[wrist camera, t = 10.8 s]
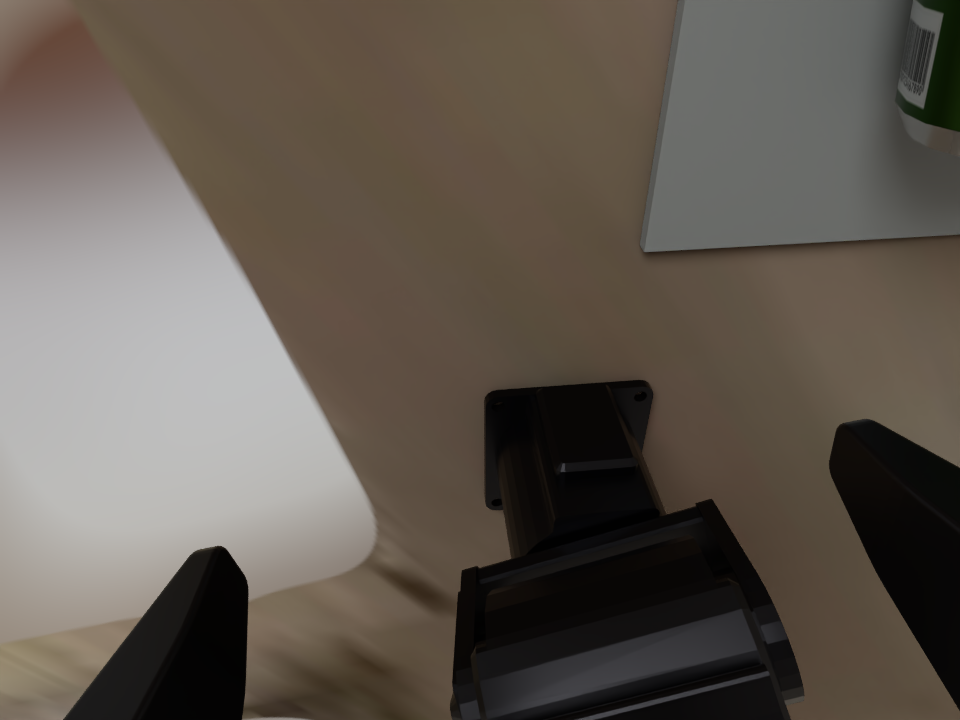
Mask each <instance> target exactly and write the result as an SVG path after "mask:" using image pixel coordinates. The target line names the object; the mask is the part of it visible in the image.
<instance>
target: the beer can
mask: <svg viewBox="0 0 960 720" xmlns="http://www.w3.org/2000/svg"><path fill="white" fill-rule="evenodd" d="M895 103H896V106H897V109H898V112H899V116H900V119H901V122H902V125H903V128H904V129H905V130H906V132H907V133H908V134H909V136H910V137H911V138H912V139H913V140H915V141H917V142H919V143H921V144H923V145H925V146H926V147H928V148H930V149H934V150H938V151H941V152H945V153H948V154H952V155H956V156H960V0H913V3H912V9H911V15H910V20H909V26H908V31H907V37H906V43H905V48H904V54H903V59H902V65H901V71H900V76H899V82H898V87H897V93H896V99H895Z"/></svg>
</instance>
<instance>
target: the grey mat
mask: <svg viewBox="0 0 960 720" xmlns="http://www.w3.org/2000/svg"><path fill="white" fill-rule="evenodd" d="M912 3H913V0H678V5H677V11H676V18H675V24H674V30H673V37H672V43H671V49H670V56H669V62H668V68H667V75H666V81H665V88H664V94H663V100H662V107H661V113H660V119H659V126H658V132H657V138H656V145H655V151H654V158H653V164H652V170H651V177H650V183H649V189H648V196H647V202H646V208H645V215H644V221H643V228H642V234H641V240H640V246H641V248H642V249H643V251H644V252H656V251H674V250H692V249H710V248H728V247H746V246H763V245H781V244H799V243H817V242H835V241H853V240H871V239H888V238H906V237H924V236H942V235H960V156H956V155H952V154H948V153H945V152H941V151H938V150H934V149H930V148H928V147H926V146H925V145H923V144H921V143H919V142H917V141H915V140H913V139H912V138H911V137H910V136H909V134H908V133H907V132H906V130H905V129H904V128H903V125H902V122H901V119H900V116H899V112H898V109H897V106H896V103H895V99H896V93H897V87H898V82H899V76H900V71H901V65H902V59H903V54H904V48H905V43H906V37H907V31H908V26H909V20H910V15H911V9H912Z"/></svg>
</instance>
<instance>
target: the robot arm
mask: <svg viewBox="0 0 960 720" xmlns="http://www.w3.org/2000/svg"><path fill="white" fill-rule="evenodd" d="M638 392H642V393H641V394H638V395H635V394H637V393H638ZM652 399H653V391H652V389H651V387H650V385H649V383H648V382H646V381H644V380H633V381H619V382H605V383H591V384H577V385H562V386H548V387H534V388H520V389H506V390H496V391H492V392H490V393H488V394H487V396H486V397H485V400H484V466H485V503H486V506H487V507H488V508H489V509H491V510H504V517H505V523H506V529H507V535H508V541H509V547H510V554H511V559H509V560H506V561H503V562H499V563H496V564H492V565H489V566H485V567H482V568H478V566H475V567H472V568H468V569H465V570H462V575H461V590H460V592H458V602H457V618H456V633H455V648H454V664H453V679H452V685H453V695H452V698H451V702H450V711H451V716H452V719H453V720H791V719H790V716H789V713H788V710H787V707H786V705H789V704H794V703H798V702H802V701H804V689H803V684H802V680H801V676H800V672H799V669H798V666H797V662H796V659H795V656H794V653H793V651H792V648H791V645H790V642H789V639H788V637H787V634H786V632H785V629H784V627H783V625H782V622H781V620H780V617H779V615H778V613H777V611H776V608H775V606H774V604H773V602H772V600H771V598H770V596H769V594H768V592H767V590H766V588H765V586H764V584H763V582H762V581H761V579H760V577H759V575H758V574H757V572H756V570H755V569H754V567H753V566H752V564H751V562H750V561H749V559H748V557H747V556H746V554H745V552H744V551H743V549H742V547H741V546H740V544H739V543H738V541H737V539H736V538H735V536H734V534H733V533H732V531H731V529H730V528H729V526H728V524H727V523H726V521H725V520H724V518H723V516H722V515H721V513H720V511H719V510H718V508H717V506H716V505H715V503H714V501H713V500H712V499H709V500H705V501H702V502H698V503H695V504H696V506H695V507H691V508H688V509H684V510H681V511H677V512H674V513H670V514H666V512H665V510H664V507H663V505H662V502H661V500H660V497H659V495H658V492H657V490H656V487H655V485H654V482H653V480H652V477H651V475H650V472H649V470H648V467H647V465H646V462H645V460H644V458H643V455H642V448H643V443H644V439H645V434H646V429H647V424H648V419H649V414H650V409H651V404H652ZM496 402H502V403H501V404H499V405H494V403H496ZM829 469H830V473H831V477H832V479H833V481H834V483H835V486H836V488H837V490H838V492H839V494H840V496H841V499H842V501H843V503H844V505H845V507H846V509H847V511H848V514H849V516H850V518H851V520H852V522H853V524H854V526H855V529H856V531H857V533H858V535H859V537H860V539H861V542H862V544H863V546H864V548H865V550H866V552H867V554H868V557H869V559H870V561H871V563H872V565H873V567H874V569H875V571H876V573H877V574H878V576H879V578H880V580H881V581H882V583H883V585H884V587H885V588H886V590H887V592H888V593H889V595H890V597H891V598H892V600H893V602H894V603H895V605H896V607H897V608H898V610H899V612H900V613H901V615H902V616H903V618H904V620H905V621H906V623H907V625H908V626H909V628H910V630H911V631H912V633H913V635H914V636H915V638H916V640H917V641H918V643H919V644H920V646H921V648H922V649H923V651H924V653H925V654H926V656H927V658H928V659H929V661H930V663H931V664H932V666H933V668H934V669H935V671H936V672H937V674H938V676H939V677H940V679H941V681H942V682H943V684H944V686H945V687H946V689H947V691H948V692H949V694H950V696H951V697H952V699H953V700H954V702H955V704H956V705H957V707H958V709H959V710H960V468H959V467H957V466H956V465H954V464H952V463H950V462H948V461H947V460H945V459H943V458H941V457H939V456H937V455H936V454H934V453H932V452H930V451H928V450H927V449H925V448H923V447H921V446H919V445H917V444H916V443H914V442H912V441H910V440H908V439H907V438H905V437H903V436H901V435H899V434H897V433H896V432H894V431H892V430H890V429H888V428H887V427H885V426H883V425H881V424H879V423H877V422H875V421H873V420H870V419H862V420H856V421H851V422H846V423H843V424H840V425H839V427H838V428H837V430H836V433H835V438H834V442H833V447H832V451H831V456H830V460H829ZM247 625H248V584H247V580H246V577H245V575H244V574H243V572H242V571H241V569H240V568H239V566H238V565H237V564H236V562H235V561H234V559H233V558H232V556H231V555H230V553H229V552H228V551H227V550H226V548H224V547H222V546H215V547H210V548H205V549H200V550H197V551H195V552H193V554H191V555H190V556H189V557H188V559H187V560H186V561H185V563H184V564H183V565H182V567H181V568H180V569H179V570H178V572H177V573H176V574H175V575H174V577H173V578H172V579H171V581H170V582H169V583H168V585H167V586H166V587H165V588H164V590H163V591H162V592H161V594H160V595H159V596H158V598H157V599H156V600H155V601H154V603H153V604H152V605H151V607H150V608H149V609H148V610H147V612H146V613H145V614H144V616H143V617H142V618H141V620H140V621H139V622H138V623H137V625H136V626H135V627H134V629H133V630H132V631H131V632H130V634H129V635H128V636H127V638H126V639H125V640H124V642H123V643H122V644H121V645H120V647H119V648H118V649H117V651H116V652H115V653H114V654H113V656H112V657H111V658H110V660H109V661H108V662H107V664H106V665H105V666H104V667H103V669H102V670H101V671H100V673H99V674H98V675H97V677H96V678H95V679H94V680H93V682H92V683H91V684H90V686H89V687H88V688H87V689H86V691H85V692H84V693H83V695H82V696H81V697H80V699H79V700H78V701H77V702H76V704H75V705H74V706H73V708H72V709H71V710H70V711H69V713H68V714H67V715H66V717H65V718H64V719H63V720H242V715H243V707H244V698H245V686H246V660H247Z"/></svg>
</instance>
